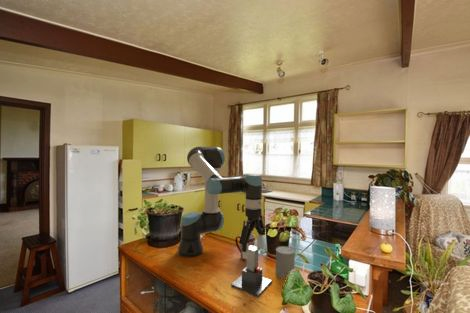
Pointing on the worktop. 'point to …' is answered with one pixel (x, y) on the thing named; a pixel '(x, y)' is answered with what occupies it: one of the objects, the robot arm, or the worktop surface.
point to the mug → (250, 242)
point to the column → (252, 259)
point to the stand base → (252, 282)
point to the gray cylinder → (284, 260)
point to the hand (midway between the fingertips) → (252, 253)
